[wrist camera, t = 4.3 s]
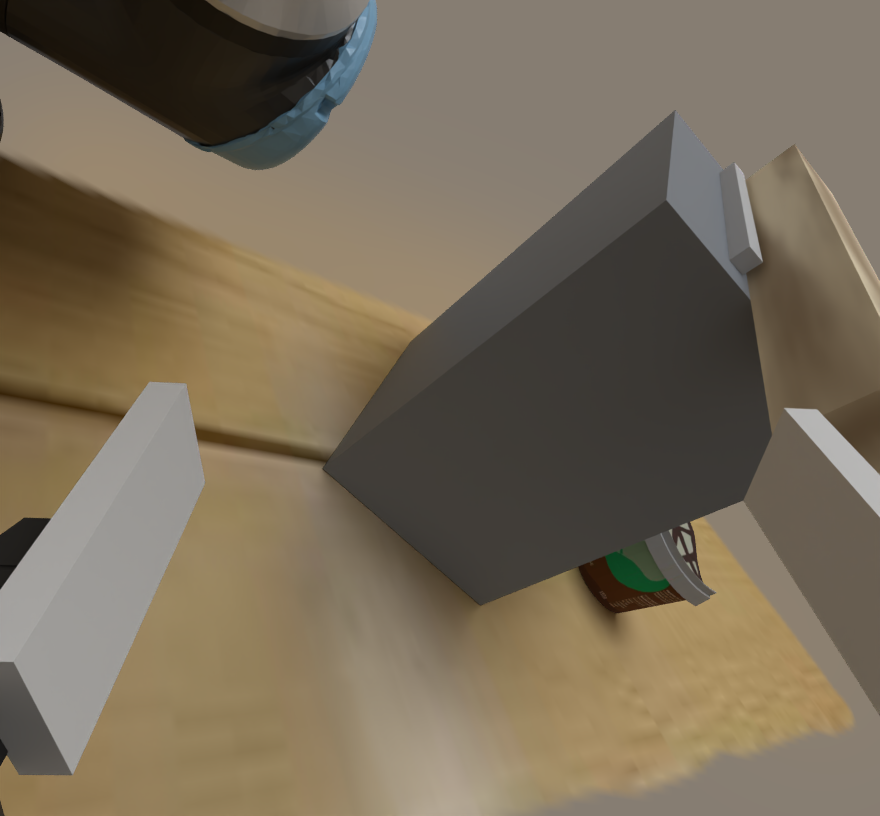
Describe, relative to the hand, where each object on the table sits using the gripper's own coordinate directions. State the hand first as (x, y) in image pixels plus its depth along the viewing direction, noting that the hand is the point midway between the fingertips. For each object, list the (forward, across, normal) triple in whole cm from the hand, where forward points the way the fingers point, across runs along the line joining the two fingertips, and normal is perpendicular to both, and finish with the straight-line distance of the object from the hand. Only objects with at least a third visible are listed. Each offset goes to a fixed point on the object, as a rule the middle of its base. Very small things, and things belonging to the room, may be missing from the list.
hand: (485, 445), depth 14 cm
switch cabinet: (+30, +1, -24) cm, 38 cm away
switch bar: (+17, +16, -3) cm, 23 cm away
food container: (+30, +16, -35) cm, 49 cm away
